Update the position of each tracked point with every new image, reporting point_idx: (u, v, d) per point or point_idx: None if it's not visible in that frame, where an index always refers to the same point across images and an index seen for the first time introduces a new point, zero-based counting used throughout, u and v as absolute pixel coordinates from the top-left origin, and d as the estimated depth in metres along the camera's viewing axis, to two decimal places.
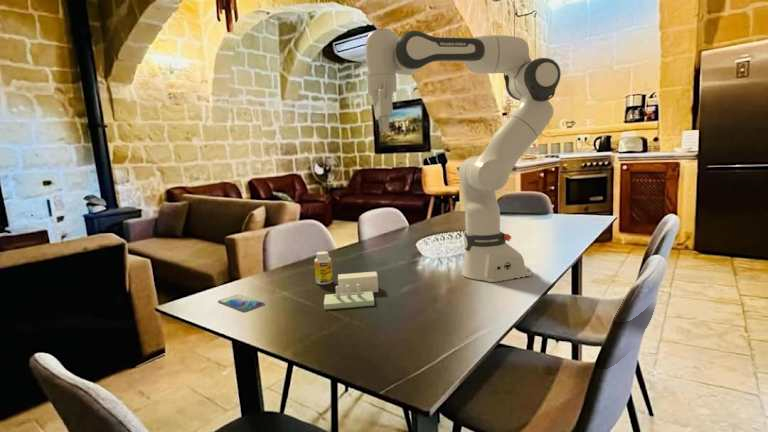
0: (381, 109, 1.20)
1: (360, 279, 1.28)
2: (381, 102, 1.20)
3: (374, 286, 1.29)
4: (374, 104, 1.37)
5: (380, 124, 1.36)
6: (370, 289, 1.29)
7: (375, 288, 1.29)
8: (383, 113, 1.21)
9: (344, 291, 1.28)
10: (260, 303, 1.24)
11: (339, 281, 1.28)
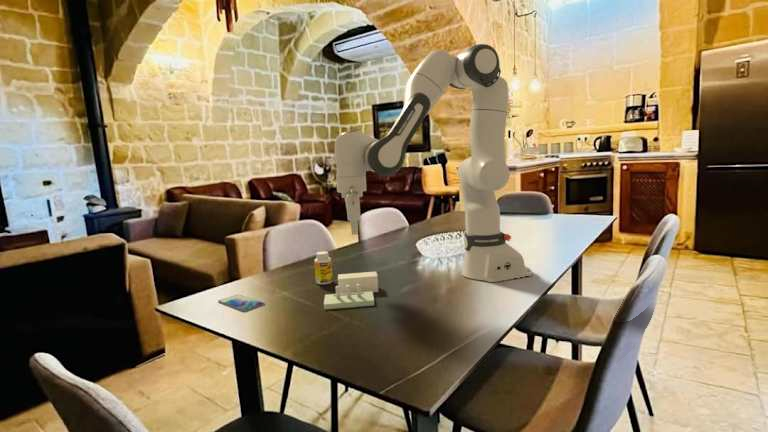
0: (348, 216, 1.17)
1: (360, 279, 1.28)
2: (348, 209, 1.17)
3: (374, 286, 1.29)
4: (345, 198, 1.34)
5: None
6: (370, 289, 1.29)
7: (375, 288, 1.29)
8: (350, 220, 1.18)
9: (344, 291, 1.28)
10: (260, 303, 1.24)
11: (339, 281, 1.28)
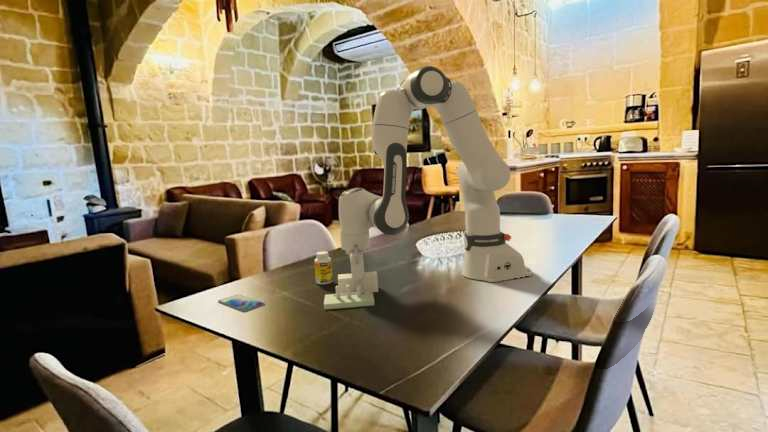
0: (352, 276, 1.20)
1: None
2: (352, 269, 1.20)
3: (374, 286, 1.29)
4: None
5: None
6: (370, 289, 1.29)
7: (375, 288, 1.29)
8: (355, 279, 1.21)
9: (344, 291, 1.28)
10: (260, 303, 1.24)
11: (339, 281, 1.28)
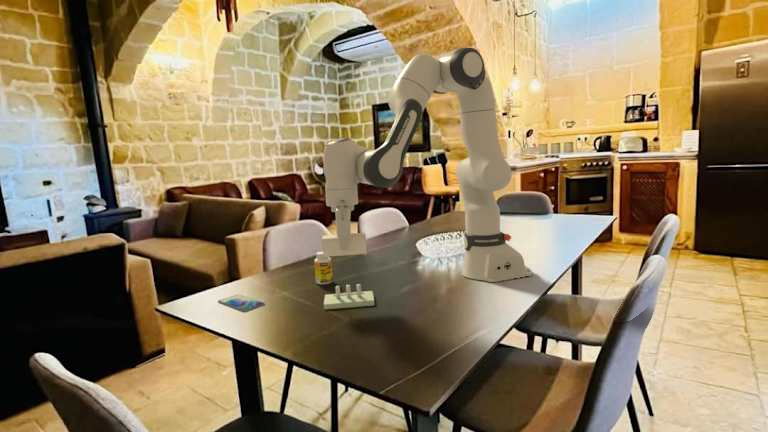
0: (337, 233, 1.08)
1: None
2: (337, 225, 1.08)
3: (362, 247, 1.17)
4: None
5: None
6: (358, 251, 1.17)
7: (364, 249, 1.17)
8: (340, 236, 1.09)
9: (329, 252, 1.16)
10: (260, 303, 1.24)
11: (323, 241, 1.16)
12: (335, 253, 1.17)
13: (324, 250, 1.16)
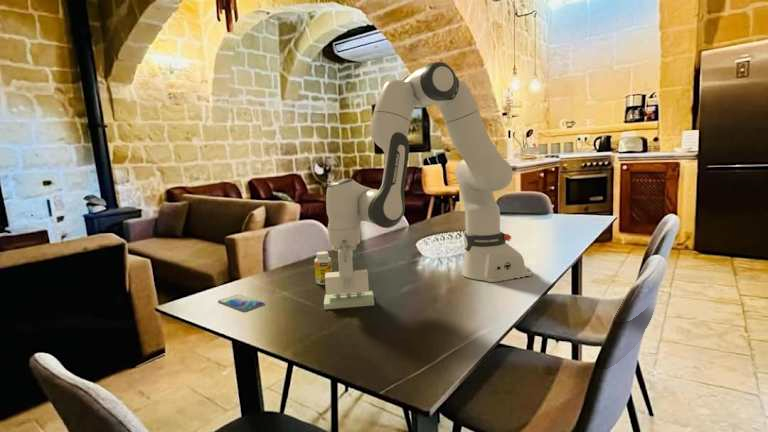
0: (340, 274, 1.10)
1: None
2: (340, 267, 1.10)
3: (364, 285, 1.19)
4: None
5: None
6: (360, 289, 1.19)
7: (366, 287, 1.19)
8: (342, 277, 1.11)
9: (332, 290, 1.18)
10: (260, 303, 1.24)
11: (326, 280, 1.17)
12: (337, 291, 1.18)
13: (327, 288, 1.18)
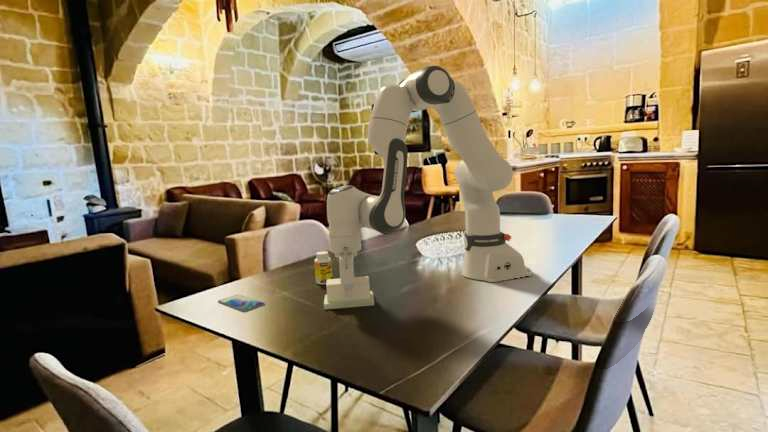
0: (341, 281, 1.10)
1: None
2: (341, 274, 1.10)
3: (366, 292, 1.19)
4: None
5: None
6: (361, 296, 1.19)
7: (367, 294, 1.19)
8: (344, 285, 1.11)
9: (333, 298, 1.18)
10: (260, 303, 1.24)
11: (328, 287, 1.18)
12: (339, 298, 1.19)
13: (328, 296, 1.18)
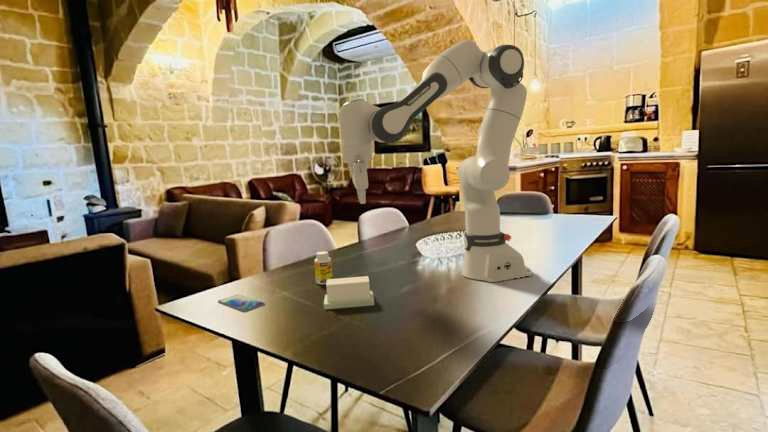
0: (356, 184, 1.18)
1: (350, 285, 1.18)
2: (356, 177, 1.17)
3: (366, 292, 1.19)
4: (351, 170, 1.35)
5: (358, 190, 1.33)
6: (361, 296, 1.19)
7: (367, 294, 1.19)
8: (358, 188, 1.18)
9: (333, 298, 1.18)
10: (260, 303, 1.24)
11: (328, 287, 1.18)
12: (339, 298, 1.19)
13: (328, 296, 1.18)
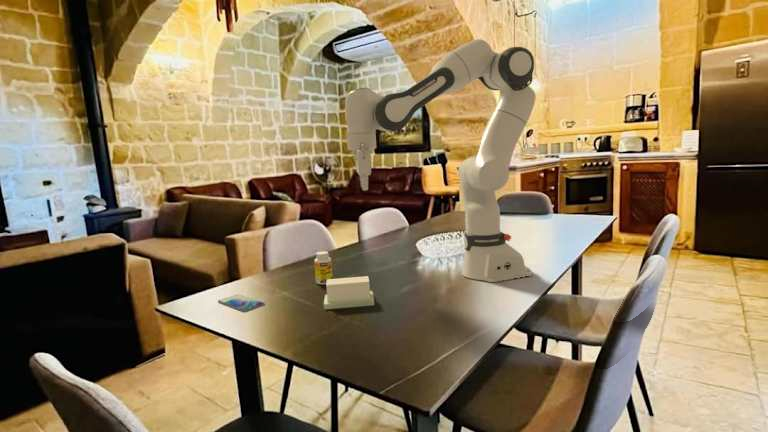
0: (359, 170, 1.20)
1: (350, 285, 1.18)
2: (359, 163, 1.20)
3: (366, 292, 1.19)
4: (355, 158, 1.37)
5: (361, 178, 1.36)
6: (361, 296, 1.19)
7: (367, 294, 1.19)
8: (361, 174, 1.21)
9: (333, 298, 1.18)
10: (260, 303, 1.24)
11: (328, 287, 1.18)
12: (339, 298, 1.19)
13: (328, 296, 1.18)
